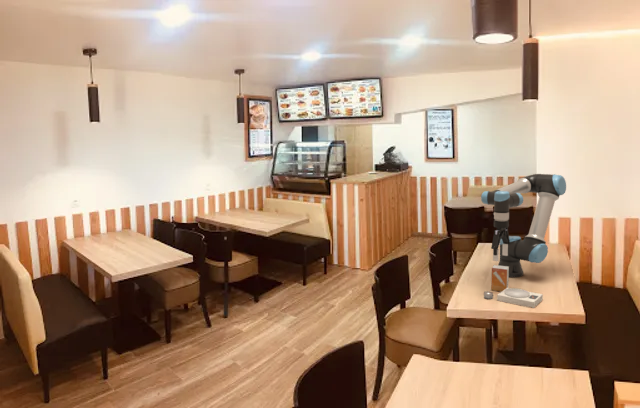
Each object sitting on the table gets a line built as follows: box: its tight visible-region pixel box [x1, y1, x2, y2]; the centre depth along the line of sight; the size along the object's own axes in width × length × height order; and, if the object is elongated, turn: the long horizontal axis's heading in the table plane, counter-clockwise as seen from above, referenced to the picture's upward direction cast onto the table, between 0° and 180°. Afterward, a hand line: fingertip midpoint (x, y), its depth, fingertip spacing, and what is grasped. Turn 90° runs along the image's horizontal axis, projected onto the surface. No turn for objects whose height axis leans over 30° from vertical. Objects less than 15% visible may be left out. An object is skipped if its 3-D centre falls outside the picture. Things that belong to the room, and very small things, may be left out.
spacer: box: [483, 290, 494, 300], centre depth 239 cm, size 4×4×3 cm
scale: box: [496, 287, 544, 309], centre depth 235 cm, size 18×14×4 cm
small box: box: [490, 264, 510, 292], centre depth 250 cm, size 8×6×13 cm
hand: (500, 258), depth 249 cm, fingers open, 13 cm apart
